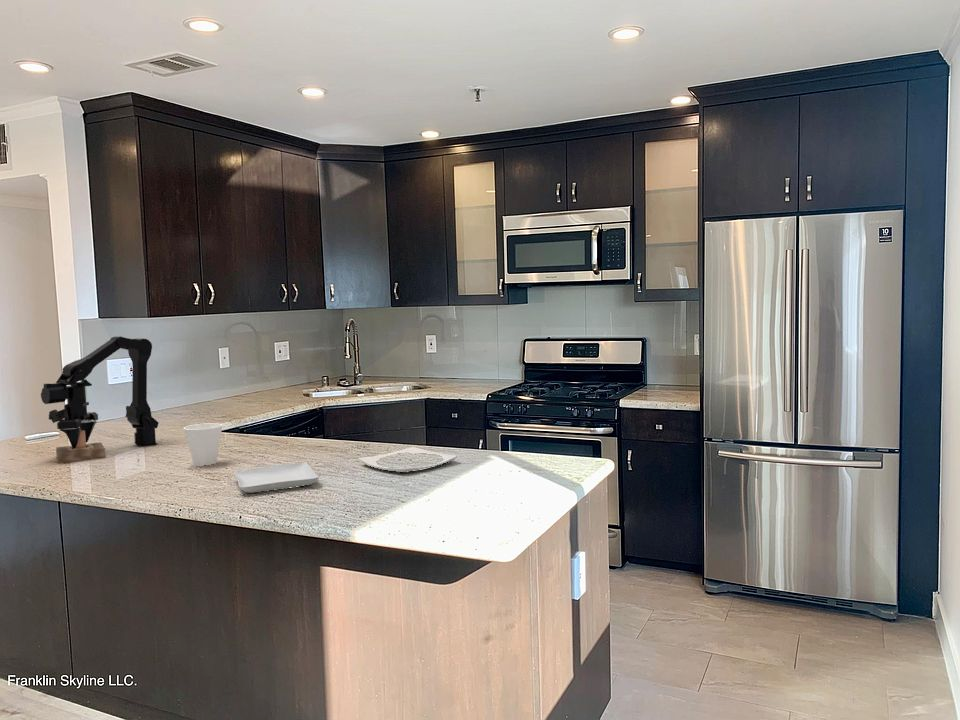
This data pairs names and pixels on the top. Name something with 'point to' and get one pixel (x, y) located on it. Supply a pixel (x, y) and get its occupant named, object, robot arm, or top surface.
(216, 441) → the cup
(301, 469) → the salad plate
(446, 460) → the plate
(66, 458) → the socket block
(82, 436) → the peg
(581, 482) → the top surface
